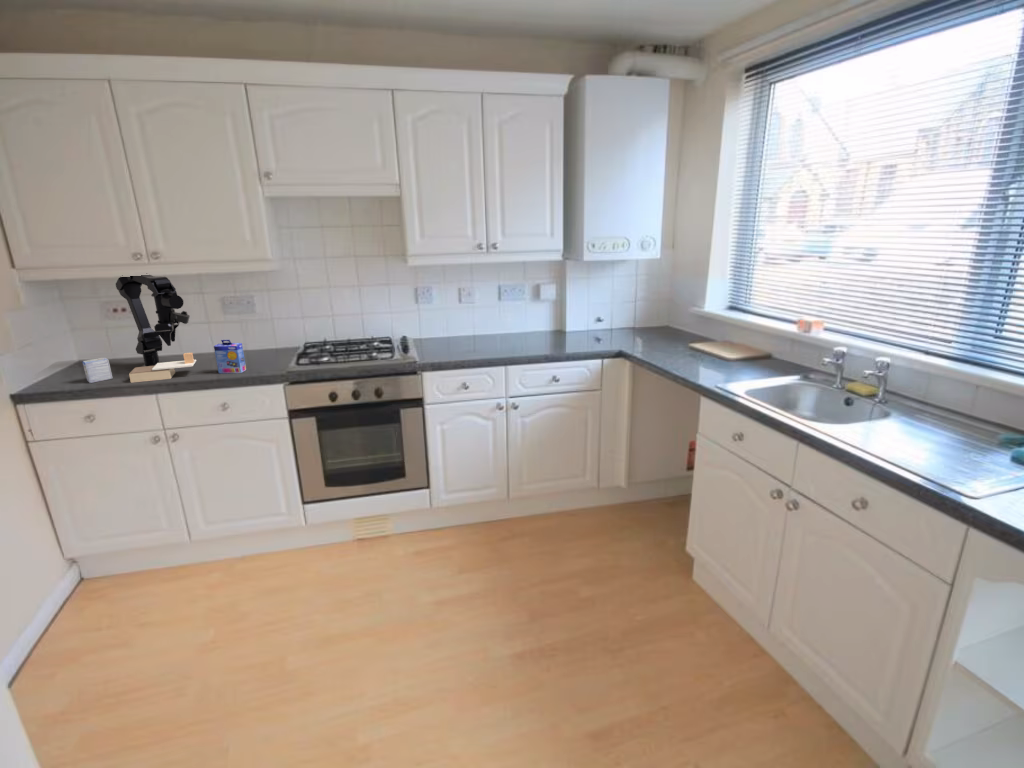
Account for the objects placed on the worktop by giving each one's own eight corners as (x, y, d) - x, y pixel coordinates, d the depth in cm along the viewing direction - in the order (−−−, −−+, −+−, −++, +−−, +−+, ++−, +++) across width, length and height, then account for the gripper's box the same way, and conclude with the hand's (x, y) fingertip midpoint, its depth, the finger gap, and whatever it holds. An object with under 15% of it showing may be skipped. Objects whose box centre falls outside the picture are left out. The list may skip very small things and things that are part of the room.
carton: (137, 376, 226) (135, 367, 225) (175, 372, 231) (173, 363, 230) (130, 382, 218) (128, 373, 216) (170, 378, 222) (168, 369, 221)
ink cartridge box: (217, 374, 229) (211, 340, 224) (223, 370, 234) (218, 337, 230) (241, 373, 229) (235, 340, 225) (247, 369, 234) (241, 337, 230)
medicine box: (109, 377, 226) (104, 357, 224) (113, 379, 223) (108, 358, 221) (87, 381, 220) (81, 361, 218) (90, 383, 218) (84, 362, 215)
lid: (157, 364, 228) (155, 353, 227) (196, 360, 233) (194, 350, 232) (152, 370, 219) (150, 359, 218) (192, 366, 224) (190, 355, 223)
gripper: (182, 309, 221) (189, 346, 226) (189, 303, 238) (196, 337, 243) (150, 311, 217) (158, 348, 222) (160, 305, 234) (167, 340, 239)
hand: (171, 343), depth 231 cm, fingers open, 9 cm apart
